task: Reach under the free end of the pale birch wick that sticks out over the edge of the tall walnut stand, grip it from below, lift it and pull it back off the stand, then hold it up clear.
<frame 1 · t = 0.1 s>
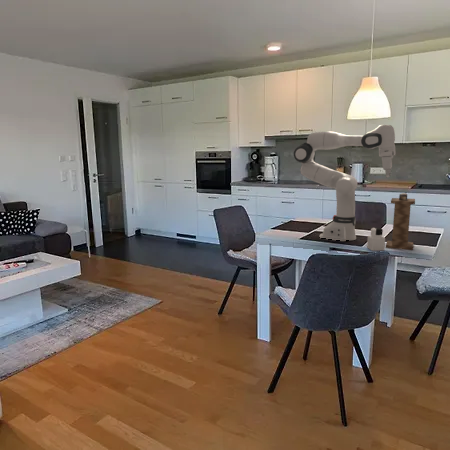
hand: (388, 176, 225), 39 cm above the table, tool pointing down, fingers open, 8 cm apart
wooden wick: (403, 198, 221), point 27 cm above the table, touching walnut stand
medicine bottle: (375, 249, 216), on the table
walnut stand: (399, 246, 221), on the table
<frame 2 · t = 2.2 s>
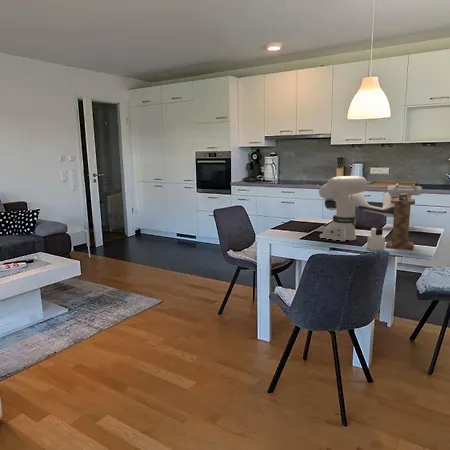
hand: (404, 185, 244), 32 cm above the table, tool pointing upward, fingers open, 8 cm apart
nothing on the table moved.
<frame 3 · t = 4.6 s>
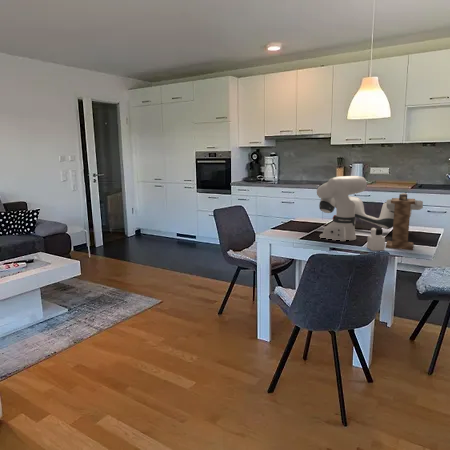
hand: (404, 199, 229), 25 cm above the table, tool pointing upward, fingers open, 8 cm apart
nothing on the table moved.
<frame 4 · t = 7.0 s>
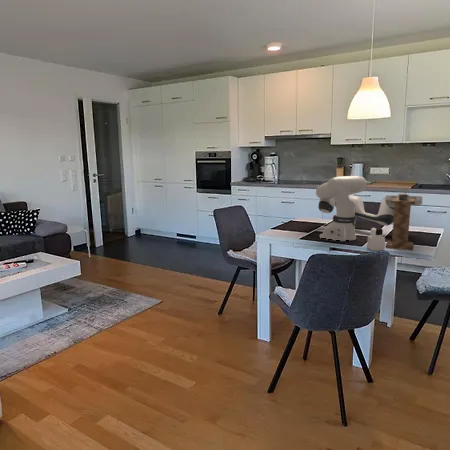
hand: (403, 195, 224), 28 cm above the table, tool pointing upward, fingers closed on wooden wick, 2 cm apart
wooden wick: (403, 198, 221), point 27 cm above the table, touching gripper, walnut stand
everything else where it was.
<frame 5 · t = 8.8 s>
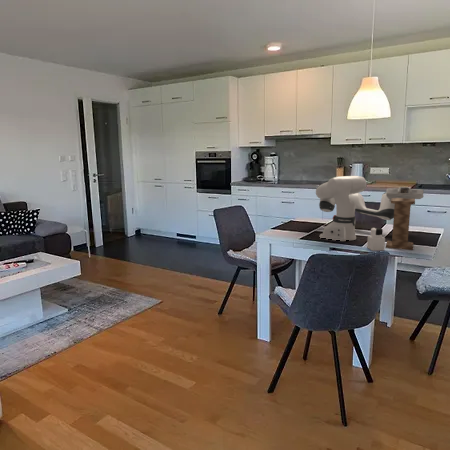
hand: (404, 188, 225), 32 cm above the table, tool pointing upward, fingers closed on wooden wick, 2 cm apart
wooden wick: (404, 191, 222), point 31 cm above the table, touching gripper
everything else where it was.
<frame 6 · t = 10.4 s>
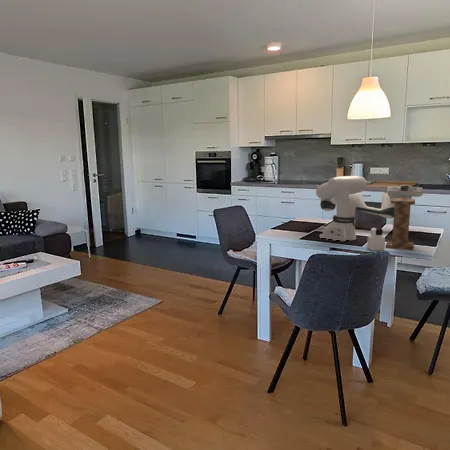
hand: (404, 186, 235), 32 cm above the table, tool pointing upward, fingers closed on wooden wick, 2 cm apart
wooden wick: (404, 189, 231), point 31 cm above the table, touching gripper
everything else where it was.
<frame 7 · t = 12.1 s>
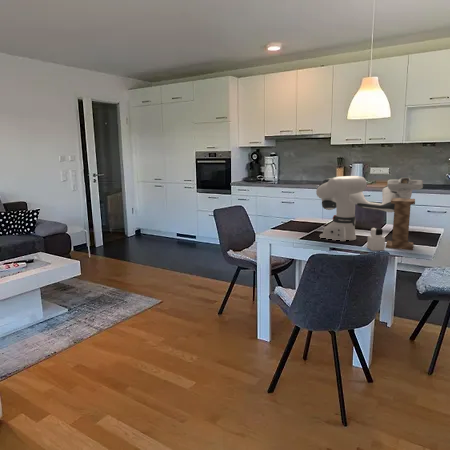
hand: (405, 179, 237), 36 cm above the table, tool pointing upward, fingers closed on wooden wick, 2 cm apart
wooden wick: (404, 182, 233), point 35 cm above the table, touching gripper
everything else where it was.
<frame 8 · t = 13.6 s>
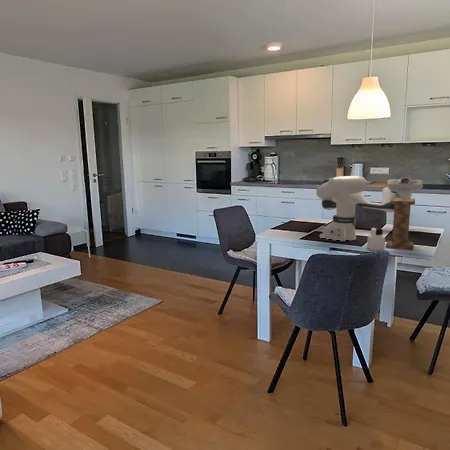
hand: (405, 179, 237), 36 cm above the table, tool pointing upward, fingers closed on wooden wick, 2 cm apart
wooden wick: (404, 182, 233), point 35 cm above the table, touching gripper
everything else where it was.
at the end: the gripper is holding wooden wick; wooden wick inside the target area (2.0 cm from its centre), point 34.9 cm above the table; wooden wick touching gripper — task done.
